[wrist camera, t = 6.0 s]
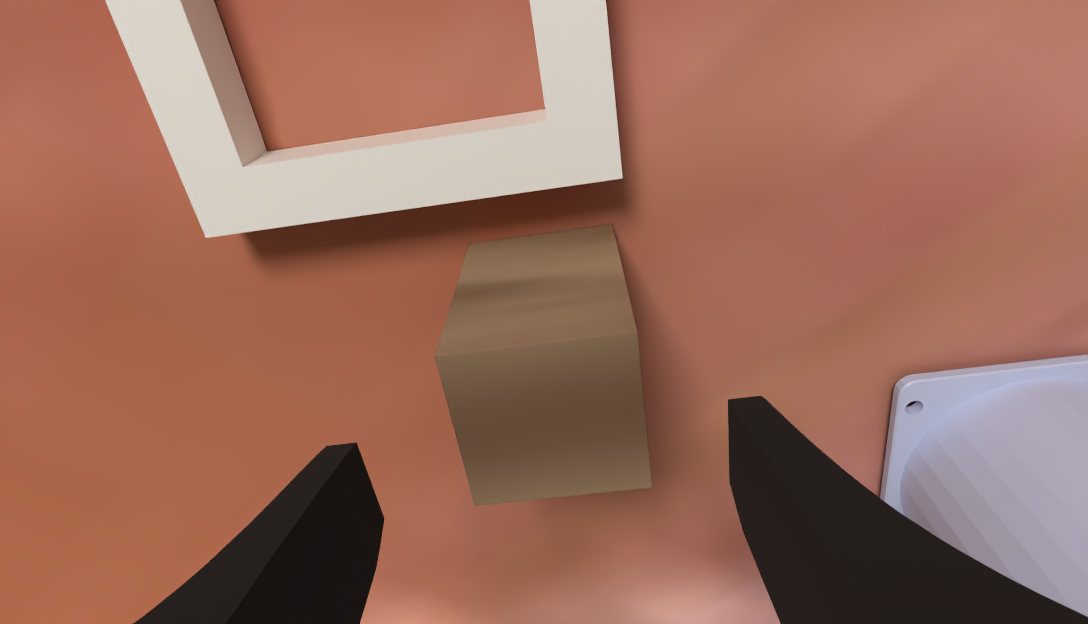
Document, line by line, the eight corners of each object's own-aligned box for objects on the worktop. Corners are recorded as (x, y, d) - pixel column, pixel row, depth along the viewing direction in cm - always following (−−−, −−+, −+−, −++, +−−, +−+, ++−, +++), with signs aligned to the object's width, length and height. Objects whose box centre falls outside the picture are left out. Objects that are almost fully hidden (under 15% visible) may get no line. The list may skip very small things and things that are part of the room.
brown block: (625, 346, 20) (652, 487, 14) (495, 362, 20) (474, 505, 15) (612, 223, 18) (637, 332, 12) (469, 243, 18) (434, 357, 13)
